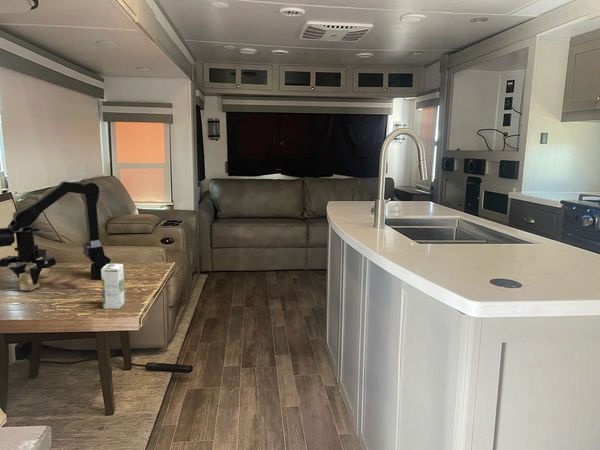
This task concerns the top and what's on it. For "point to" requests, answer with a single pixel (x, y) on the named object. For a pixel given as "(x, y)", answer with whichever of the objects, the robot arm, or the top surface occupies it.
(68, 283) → the board
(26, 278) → the gauge
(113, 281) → the syrup box
